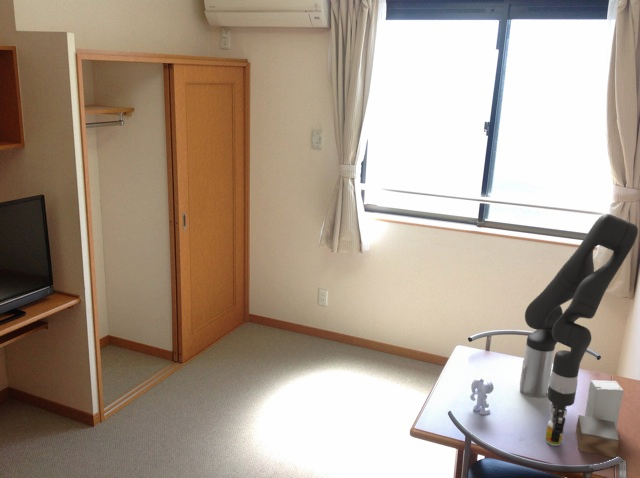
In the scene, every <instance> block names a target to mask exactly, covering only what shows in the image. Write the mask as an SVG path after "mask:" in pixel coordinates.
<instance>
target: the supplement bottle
mask: <svg viewBox="0 0 640 478" xmlns="http://www.w3.org/2000/svg"><path fill="white" fill-rule="evenodd" d="M554 419H555V418H554ZM552 427H553V422H552V415H551V414H550V420H548V421H547V427H546V433H545V437H544V439H545V442H547V444H549V445H551V446H556V447H557V446H560V445H562V443H563V442H562V441H563V437H564V432H565V431H564V430H565V426H564V427H563V433H562V434H561V433H560V438H559V442H553V441H551V435H552Z"/></svg>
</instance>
